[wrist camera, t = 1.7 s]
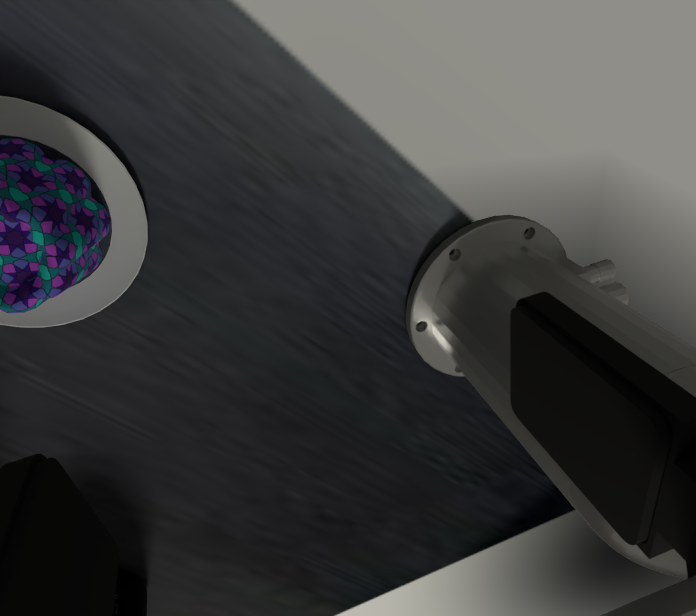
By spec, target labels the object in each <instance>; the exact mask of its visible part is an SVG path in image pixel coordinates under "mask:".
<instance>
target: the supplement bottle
mask: <svg viewBox="0 0 696 616" xmlns="http://www.w3.org/2000/svg"><path fill="white" fill-rule="evenodd" d="M113 616H147V590H146V587H145V585H144V583H143V582H142V581H141V580H140V579H139V578H138V577H137V576H135V575H133V574H131V573H128V572H125V571H119V570H118V575H117V584H116V592H115V600H114V608H113Z"/></svg>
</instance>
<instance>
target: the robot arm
mask: <svg viewBox="0 0 696 616" xmlns="http://www.w3.org/2000/svg"><path fill="white" fill-rule="evenodd" d="M615 275H616V267H615V265H614V263H613V262H612V261H611V260H607V259H606V260H603V261H600V262H597V263H593V264H591V265H589V266H586V267H581V266H579V265H577V264H576V263H574V262H572V261H571V260H569V259H567V257H566V253H565V250H564V248H563V246H562V245H561V243H560V241H559V239H558V238H557V237H556V236H555V235H554V234H553V233H552V232H551V231H550V230H549V229H547V228H545V227H543V226H542V225H540V224H538V223H537V222H534V221H532V220H530V219H527V218H525V217H519V216H513V215H503V216H493V217H489V218H485V219H482V220H478V221H476V222H474V223H471V224H469V225H467V226H465V227H463V228H461V229H460V230H458V231H457V232H455V233H454V234H452V235H451V236H450V237H448V238H447V239H445V240H444V241H443V242H442V243H441V244H440V245H439V246H438V247H437V248H436V249H435V250H434V251H433V252H432V253H431V255H430V256H429V257H428V258H427V260H426V261H425V262H424V264H423V265H422V266H421V268H420V270H419V272H418V274H417V276H416V277H415V279H414V281H413V284H412V287H411V290H410V293H409V296H408V300H407V307H406V327H407V330H408V334H409V337H410V340H411V342H412V344H413V345H414V347H415V349H416V350H417V352H418V353H419V354H420V355H421V357H422V358H423V359H424V360H425V361H426V362H427V363H428V364H429V365H431V366H432V367H433V368H434V369H437V370H439V371H441V372H443V373H445V374H449V375H454V376H465V377H466V378H467V379H468V380H469V381H470V383H471V384H472V385H473V386H474V387H475V389H476V390H477V391H478V392H479V393H480V395H481V396H482V397H483V398H484V399H485V401H486V402H487V403H488V404H489V405H490V407H491V408H492V409H493V410H494V412H495V413H496V414H497V415H498V416H499V418H500V419H501V420H502V421H503V422H504V424H505V425H506V426H507V427H508V428H509V430H510V431H511V432H512V433H513V434H514V436H515V437H516V438H517V439H518V440H519V442H520V443H521V444H522V445H523V446H524V448H525V449H526V450H527V451H528V453H529V454H530V455H531V456H532V457H533V459H534V460H535V461H536V462H537V463H538V465H539V466H540V467H541V468H542V469H543V471H544V472H545V473H546V474H547V475H548V477H549V478H550V479H551V480H552V481H553V483H554V484H555V485H556V486H557V487H558V489H559V490H560V491H561V492H562V493H563V495H564V496H565V497H566V498H567V500H568V501H569V502H570V503H571V504H572V506H573V507H574V508H575V509H576V510H577V511H578V512H579V514H580V515H581V516H582V517H583V518H584V519H585V520H586V522H587V523H588V524H589V525H590V527H591V528H592V529H593V530H594V531H595V532H596V533H597V534H598V535H599V536H600V537H601V538H602V539H603V540H604V541H605V542H606V543H607V544H609V545H610V546H611V547H612V548H613V549H615V550H616V551H617V552H619V553H620V554H622V555H624V556H625V557H627V558H628V559H630V560H632V561H634V562H636V563H638V564H640V565H642V566H645V567H647V568H650V569H653V570H655V571H658V572H661V573H665V574H669V575H673V576H677V577H681V578H686V580H684V581H681V582H679V583H677V584H674V585H672V586H670V587H667V588H664V589H662V590H660V591H657V592H655V593H652V594H650V595H647V596H645V597H643V598H640V599H638V600H636V601H633V602H631V603H629V604H626V605H624V606H622V607H619V608H617V609H615V610H613V611H610V612H608V613H606V614H603V615H601V616H696V347H694V346H692V345H691V344H689V343H688V342H686V341H684V340H682V339H681V338H679V337H678V336H676V335H675V334H673V333H671V332H670V331H668V330H666V329H665V328H663V327H662V326H660V325H658V324H657V323H655V322H653V321H652V320H650V319H648V318H647V317H645V316H644V315H642V314H640V313H638V312H637V311H635V310H634V309H632V308H630V307H629V306H627V304H628V301H629V295H628V292H627V290H626V288H625V287H624V286H623V285H622V284H621V283H617V282H615V283H611V284H608V285H605V286H602V287H599V288H598V287H596V286H595V285H593V284H592V283H598V282H601V281H604V280H607V279H611V278H613V277H615ZM118 567H119V552H118V548H117V545H116V543H115V541H114V540H113V538H112V537H111V535H110V534H109V532H108V531H107V530H106V528H105V527H104V525H103V524H102V523H101V521H100V520H99V518H98V517H97V515H96V514H95V513H94V511H93V510H92V508H91V507H90V506H89V504H88V503H87V501H86V500H85V498H84V497H83V496H82V494H81V493H80V491H79V490H78V489H77V487H76V486H75V484H74V483H73V481H72V480H71V479H70V477H69V476H68V474H67V473H66V472H65V470H64V469H63V467H62V466H61V464H60V463H59V462H58V461H57V460H56V459H55V458H49V459H47V458H46V457H45V456H43V455H42V454H35V455H32V456H29V457H26V458H23V459H20V460H17V461H14V462H10V463H7V464H5V465H4V466H2V468H1V469H0V616H113V608H114V600H115V592H116V584H117V575H118Z"/></svg>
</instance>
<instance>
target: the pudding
mask: <svg viewBox="0 0 696 616" xmlns="http://www.w3.org/2000/svg"><path fill="white" fill-rule="evenodd" d="M0 135H8V136H17V137H22V138H26V139H30V140H34V141H38V142H40V143H42V144H45V145H47V146H50V147H52V148H54V149H56V150H58V151H59V152H61V153H63V154H64V155H66V156H68V157H69V158H71V159H72V160H73V161H74V162H76V163H77V164H78V165H79V166H81V167H82V168H83V169H84V170H85V171H86V172H87V173H88V175H89V176H90V177H91V178H92V179H93V180H94V181H95V183H96V184H97V186H98V187H99V189H100V190H101V192H102V193H103V196H104V198H105V200H106V202H107V204H108V207H109V211H110V215H111V219H112V237H111V243H110V247H109V250H108V252H107V255H106V257H105V259H104V260H103V262H102V263H101V265H100V266H99V268H98V269H97V270H96V271H95V272H94V273H93V274H92V275H91V276H89V277H88V278H86V279H85V280H84V281H82V282H81V283H79V284H77V285H75V286H72V285H73V284H75V283H76V282H77V281H79V280H80V279H82V278H83V277H84V276H86V275H87V274H88V273H90V272H91V271H92V270H94V269H95V268H96V267H97V266H98V264H99V262H100V260H101V258H102V256H103V255H102V252H101V249H100V246H99V243H98V242H99V241H100V240H101V239H102V238H103V237H105V236H106V235H107V234H108V233H109V225H110V219H109V216H108V214H107V211H106V208H105V207H104V206H103V205H101V204H100V203H99V202H97V201H96V200H94V199H93V198H92V197H91V181H90V180H89V179H88V177H87V176H86V175H85V173H84V172H83V171H82V169H80V168H79V167H77V166H76V165H74V164H73V163H71V162H69V161H68V160H57V159H49V158H48V157H47V156H46V155H45V154H44V152H43V151H42V150H41V149H40V148H39V147H38V146H37V145H36V144H33V143H31V142H28V141H25V140H22V139H20V138H2V139H1V140H0V325H8V326H15V327H49V326H56V325H64V324H67V323H71V322H74V321H78V320H81V319H84V318H86V317H88V316H91V315H93V314H95V313H97V312H99V311H101V310H103V309H104V308H105V307H107V306H108V305H110V304H111V303H113V302H114V301H116V300H117V299H118V298H119V297H120V296H121V295H122V294H123V293H124V292H125V291H126V290H127V289H128V287H129V286H130V284H131V283H132V281H133V280H134V279H135V277H136V276H137V274H138V272H139V269H140V267H141V265H142V262H143V260H144V257H145V251H146V246H147V241H148V236H147V218H146V213H145V209H144V204H143V201H142V199H141V196H140V194H139V191H138V189H137V186H136V184H135V182H134V181H133V179H132V177H131V176H130V174H129V173H128V171H127V169H126V168H125V166H124V165H123V163H122V162H121V161H120V160H119V159H118V158H117V157H116V155H115V154H114V153H113V152H112V151H111V150H110V148H109V147H108V146H106V145H105V144H104V143H103V142H102V141H101V140H99V139H98V138H97V137H96V136H95V135H94V134H93V133H91V132H90V131H89V130H87V129H86V128H84V127H83V126H81V125H79V124H78V123H76V122H75V121H73V120H72V119H70V118H68V117H67V116H65V115H62V114H60V113H58V112H56V111H53V110H51V109H49V108H47V107H45V106H42V105H39V104H35V103H32V102H29V101H25V100H22V99H18V98H13V97H6V96H0ZM70 286H72V287H70ZM69 287H70V288H69Z"/></svg>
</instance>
